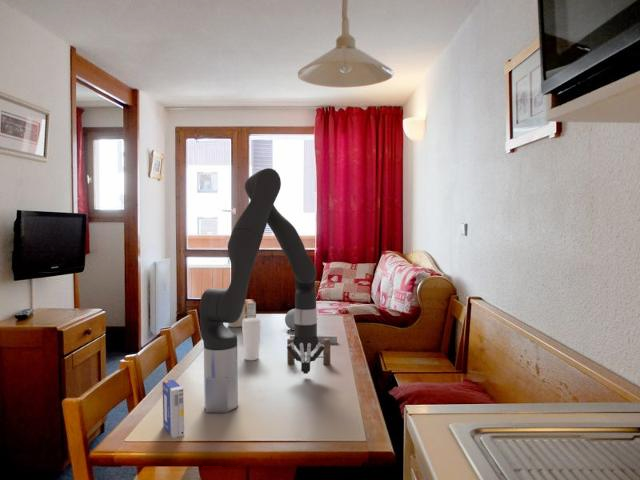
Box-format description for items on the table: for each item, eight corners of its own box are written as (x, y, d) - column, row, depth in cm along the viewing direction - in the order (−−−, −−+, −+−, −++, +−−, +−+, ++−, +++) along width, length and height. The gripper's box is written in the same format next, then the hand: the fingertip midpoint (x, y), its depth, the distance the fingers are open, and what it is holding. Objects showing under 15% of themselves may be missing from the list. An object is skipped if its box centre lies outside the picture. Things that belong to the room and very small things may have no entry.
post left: (294, 364, 162) (294, 340, 162) (287, 364, 162) (286, 340, 162) (294, 362, 165) (294, 338, 164) (287, 362, 165) (287, 338, 165)
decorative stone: (282, 328, 217) (282, 307, 216) (302, 326, 220) (302, 306, 220) (288, 333, 207) (288, 311, 207) (308, 331, 211) (308, 310, 210)
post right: (330, 365, 162) (330, 340, 161) (323, 365, 162) (323, 340, 161) (330, 362, 164) (330, 338, 164) (323, 362, 164) (323, 338, 164)
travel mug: (245, 323, 226) (245, 288, 225) (243, 327, 218) (243, 290, 217) (229, 323, 226) (229, 288, 225) (227, 327, 218) (226, 291, 217)
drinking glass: (257, 362, 165) (256, 321, 165) (239, 361, 167) (239, 321, 166) (263, 356, 172) (262, 317, 171) (246, 355, 173) (246, 317, 173)
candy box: (244, 331, 210) (244, 299, 210) (253, 331, 212) (253, 298, 211) (247, 336, 202) (246, 302, 201) (256, 335, 203) (256, 302, 202)
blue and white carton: (163, 426, 114) (162, 380, 114) (174, 423, 116) (173, 378, 115) (173, 438, 108) (172, 389, 107) (184, 435, 109) (183, 387, 109)
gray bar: (337, 343, 190) (337, 336, 190) (289, 343, 191) (289, 336, 191) (337, 342, 192) (337, 335, 192) (290, 341, 193) (290, 334, 193)
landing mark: (328, 357, 171) (328, 356, 171) (292, 356, 172) (292, 356, 172) (329, 346, 185) (329, 346, 185) (295, 346, 186) (295, 346, 186)
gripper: (284, 323, 145) (284, 376, 146) (325, 324, 144) (325, 377, 145) (287, 318, 153) (287, 368, 153) (326, 319, 152) (326, 369, 153)
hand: (305, 372), depth 149 cm, fingers closed
